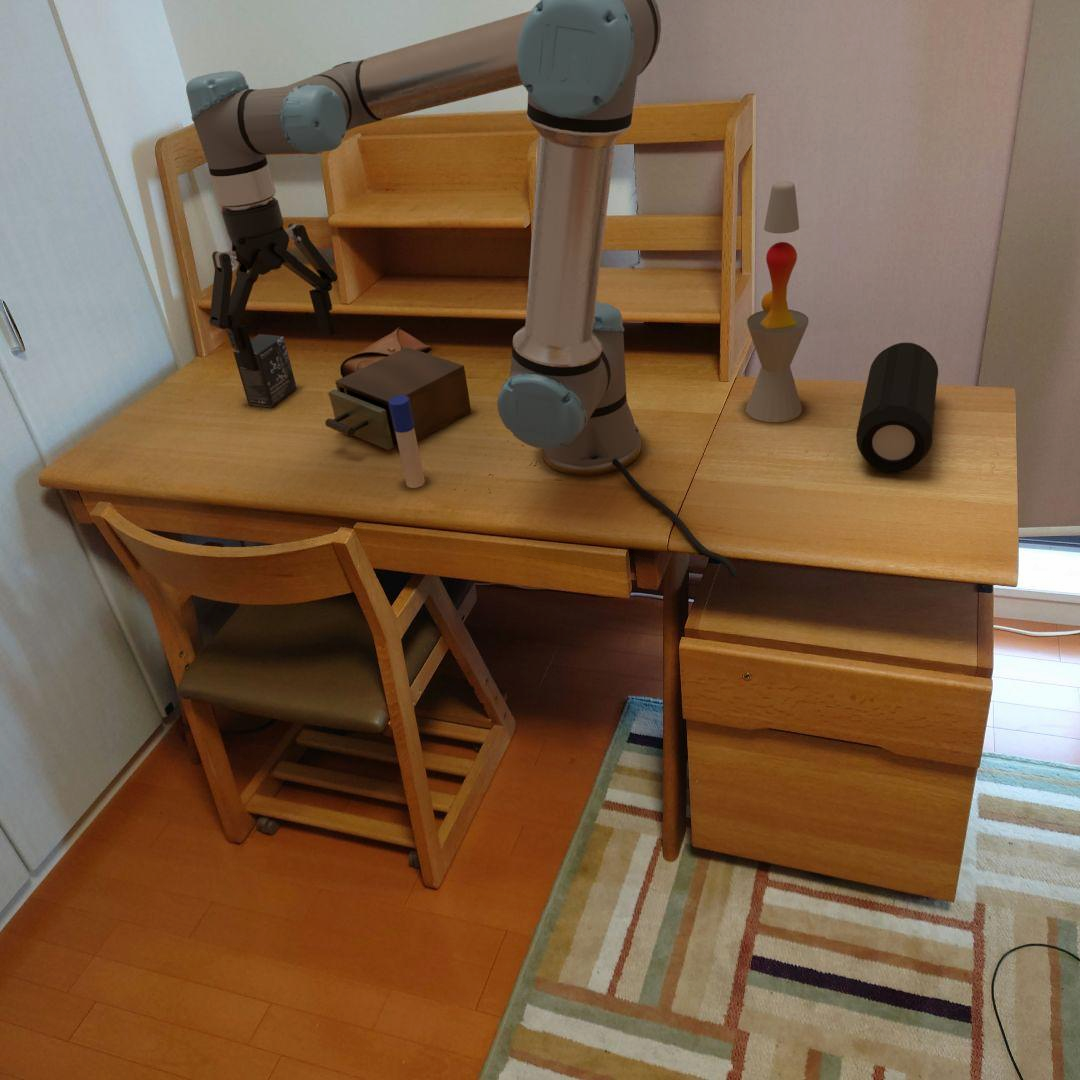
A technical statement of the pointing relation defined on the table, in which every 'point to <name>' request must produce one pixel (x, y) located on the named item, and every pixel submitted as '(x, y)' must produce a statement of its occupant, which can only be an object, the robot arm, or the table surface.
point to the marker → (406, 440)
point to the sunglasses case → (381, 351)
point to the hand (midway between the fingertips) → (290, 351)
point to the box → (267, 372)
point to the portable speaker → (898, 408)
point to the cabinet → (415, 388)
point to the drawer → (362, 418)
